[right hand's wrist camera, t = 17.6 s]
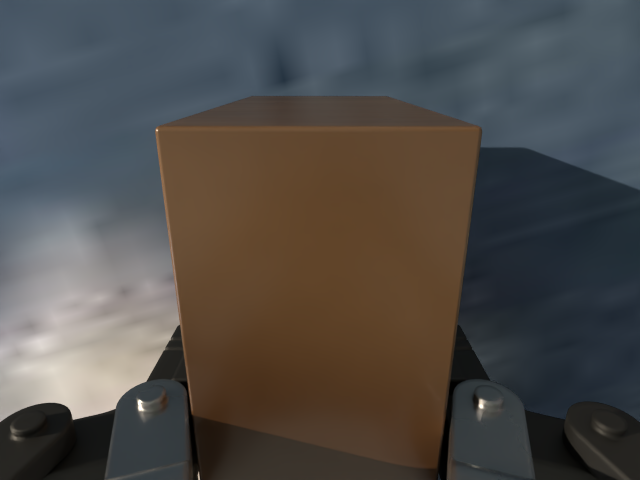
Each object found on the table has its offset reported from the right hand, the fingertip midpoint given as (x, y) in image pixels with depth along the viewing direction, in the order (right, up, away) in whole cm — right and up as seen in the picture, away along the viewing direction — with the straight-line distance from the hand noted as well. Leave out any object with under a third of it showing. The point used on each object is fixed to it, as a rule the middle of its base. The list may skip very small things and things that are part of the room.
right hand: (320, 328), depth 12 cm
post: (0, -28, +15) cm, 32 cm away
